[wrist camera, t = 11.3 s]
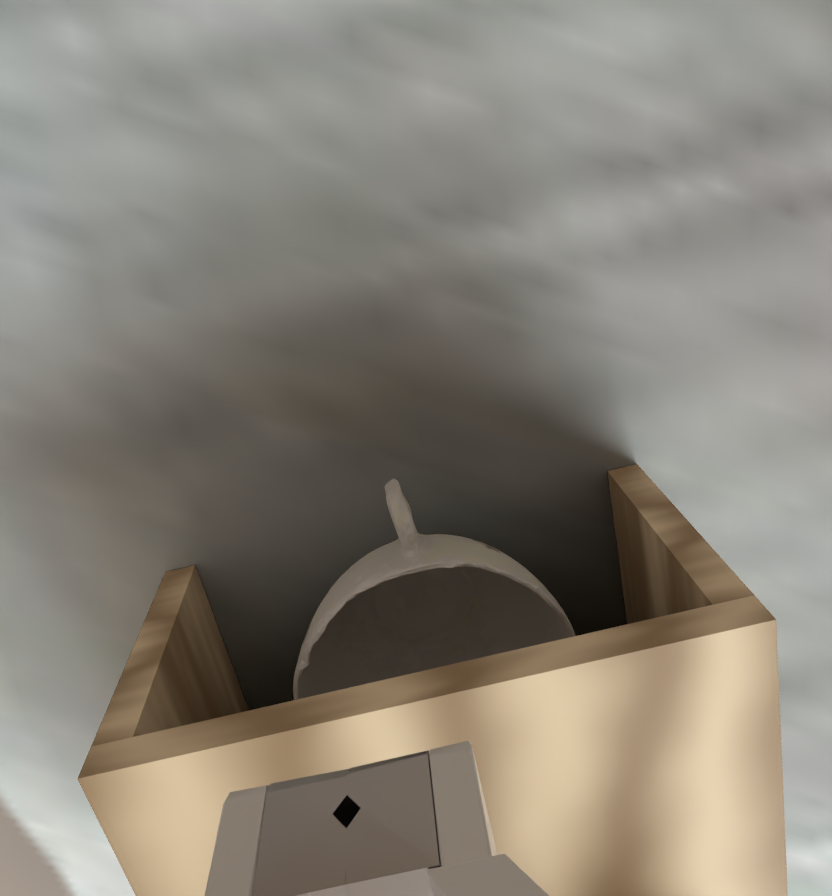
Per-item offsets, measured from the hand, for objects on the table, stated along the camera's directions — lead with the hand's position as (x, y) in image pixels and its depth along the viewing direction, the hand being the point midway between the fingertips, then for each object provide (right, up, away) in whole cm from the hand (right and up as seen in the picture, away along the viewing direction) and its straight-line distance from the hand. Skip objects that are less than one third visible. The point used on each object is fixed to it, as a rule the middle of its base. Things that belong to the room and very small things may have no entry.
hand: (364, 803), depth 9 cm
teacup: (+1, -2, +31) cm, 31 cm away
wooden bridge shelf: (+2, -8, +33) cm, 34 cm away
